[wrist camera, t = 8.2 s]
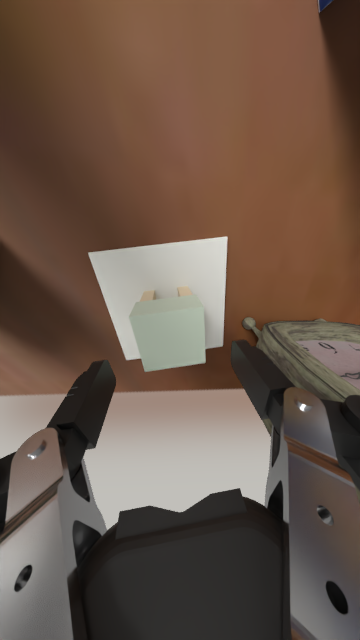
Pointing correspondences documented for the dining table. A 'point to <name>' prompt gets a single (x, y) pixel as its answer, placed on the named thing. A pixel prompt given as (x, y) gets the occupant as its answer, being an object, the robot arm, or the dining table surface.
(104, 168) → the dining table surface
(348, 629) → the robot arm
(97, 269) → the mat
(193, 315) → the cube with two prongs
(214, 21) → the dining table surface
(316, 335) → the tabletop clock
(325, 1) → the beverage box
